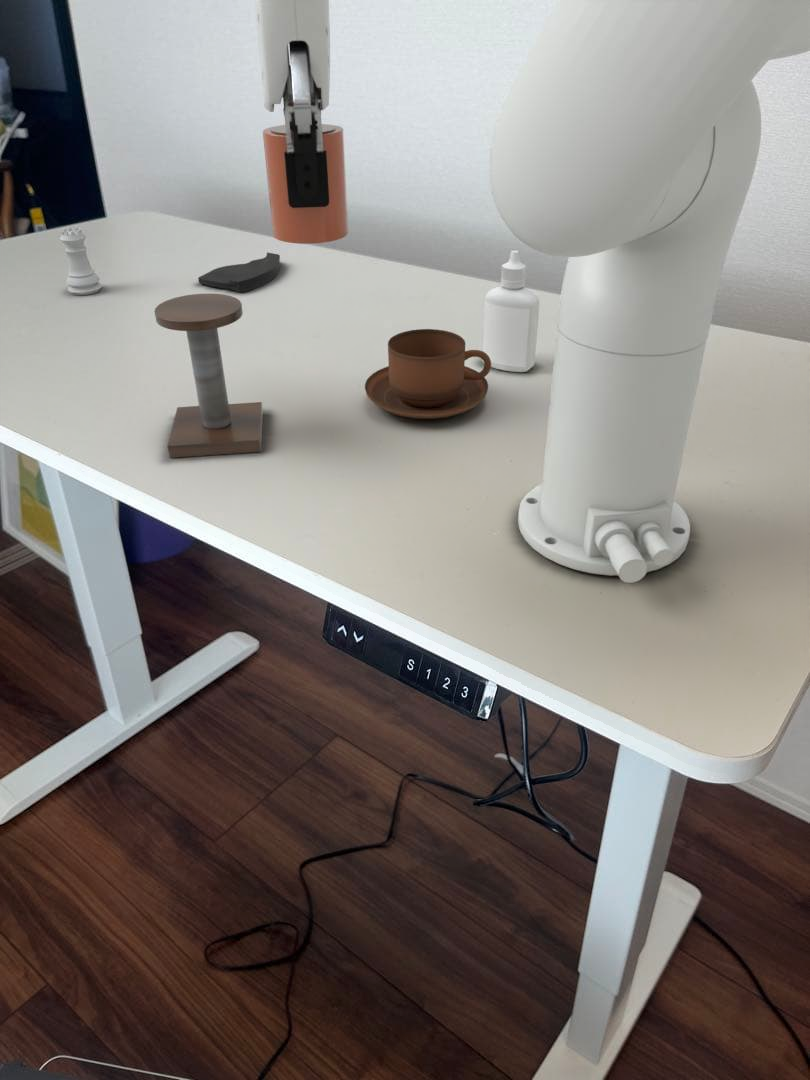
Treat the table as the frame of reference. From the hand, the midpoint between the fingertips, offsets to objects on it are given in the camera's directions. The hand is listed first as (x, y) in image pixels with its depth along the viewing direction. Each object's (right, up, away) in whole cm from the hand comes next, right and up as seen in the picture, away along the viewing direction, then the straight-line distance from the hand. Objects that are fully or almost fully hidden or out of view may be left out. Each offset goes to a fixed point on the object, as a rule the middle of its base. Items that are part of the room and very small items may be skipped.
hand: (308, 194), depth 68 cm
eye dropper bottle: (+19, -10, +21) cm, 30 cm away
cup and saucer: (+10, -15, +13) cm, 22 cm away
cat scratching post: (-9, -19, +8) cm, 22 cm away
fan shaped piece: (-14, +8, +47) cm, 50 cm away
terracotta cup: (0, -3, +2) cm, 3 cm away
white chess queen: (-36, +5, +44) cm, 57 cm away
